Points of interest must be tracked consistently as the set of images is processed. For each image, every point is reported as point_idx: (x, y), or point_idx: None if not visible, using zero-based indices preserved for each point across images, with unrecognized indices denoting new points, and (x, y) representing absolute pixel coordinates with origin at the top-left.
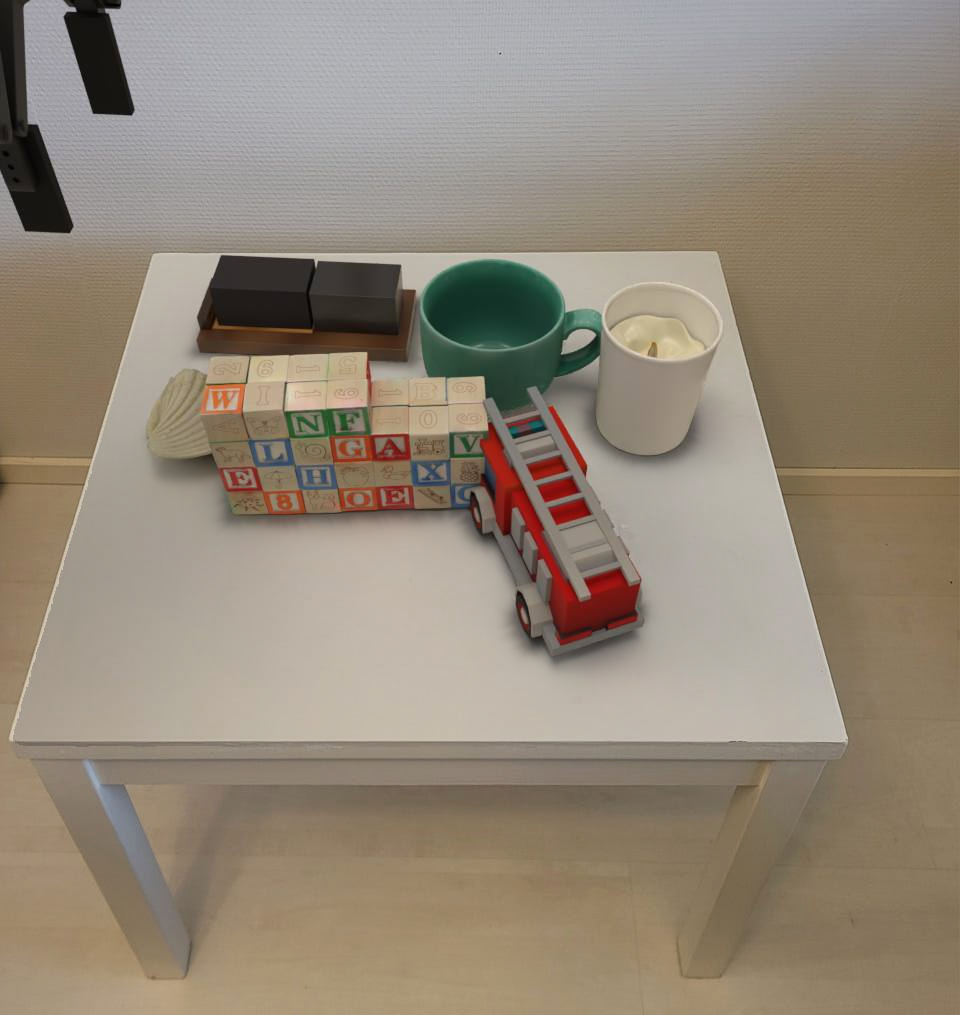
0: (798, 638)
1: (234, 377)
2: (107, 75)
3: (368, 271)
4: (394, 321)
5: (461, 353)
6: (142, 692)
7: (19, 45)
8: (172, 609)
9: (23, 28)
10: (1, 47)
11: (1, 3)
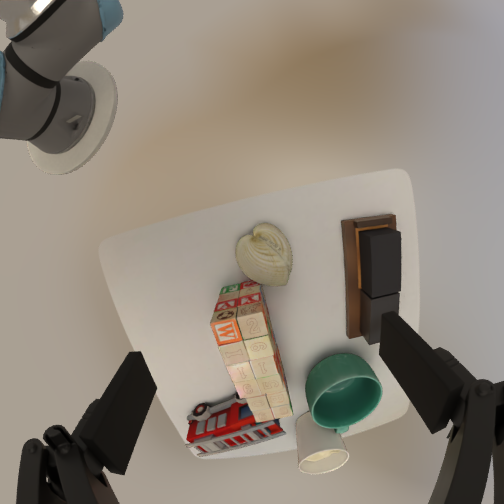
0: (225, 456)
1: (246, 332)
2: (401, 370)
3: None
4: (363, 335)
5: (312, 400)
6: (123, 282)
7: None
8: (161, 279)
9: None
10: None
11: None
